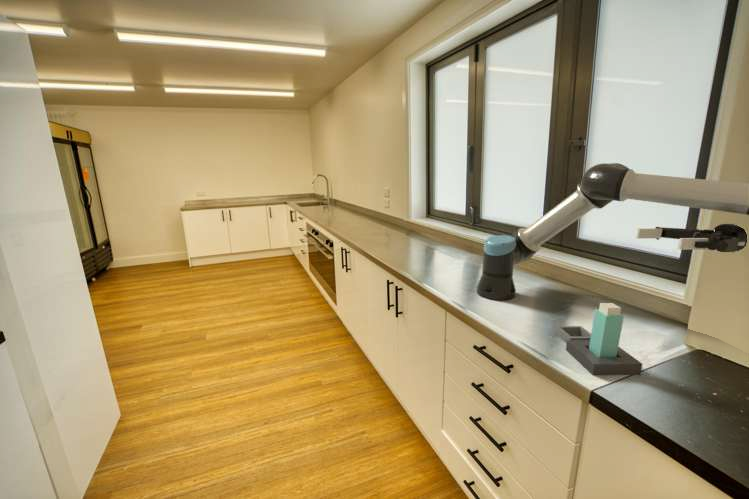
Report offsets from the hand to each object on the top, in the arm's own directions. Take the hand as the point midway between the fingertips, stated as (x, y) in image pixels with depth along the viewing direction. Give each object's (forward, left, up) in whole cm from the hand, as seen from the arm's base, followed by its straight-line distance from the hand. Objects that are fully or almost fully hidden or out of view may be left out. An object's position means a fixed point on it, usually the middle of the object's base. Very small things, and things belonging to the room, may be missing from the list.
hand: (657, 238), depth 90 cm
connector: (+7, -15, -32) cm, 36 cm away
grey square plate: (-5, -15, -32) cm, 36 cm away
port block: (+7, -15, -32) cm, 36 cm away
